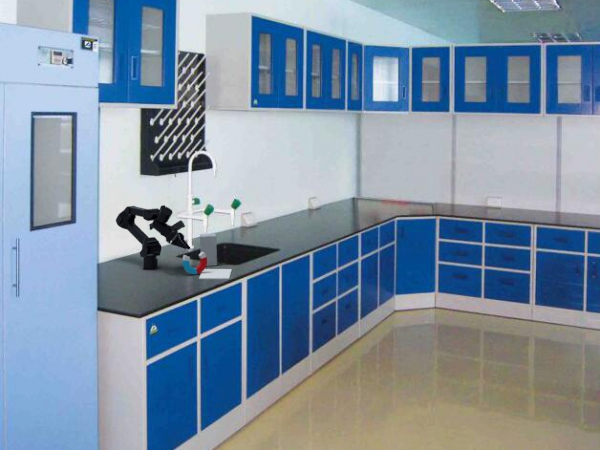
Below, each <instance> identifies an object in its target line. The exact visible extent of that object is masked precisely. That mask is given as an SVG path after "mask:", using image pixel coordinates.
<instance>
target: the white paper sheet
mask: <svg viewBox="0 0 600 450" xmlns="http://www.w3.org/2000/svg"><path fill="white" fill-rule="evenodd" d="M232 270H233V269H232V268H205V269H204V270H203V271H202V272H201V273H200V275H199V277H198V280H230V277H231V274H232Z"/></svg>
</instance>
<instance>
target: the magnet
mask: <svg viewBox="0 0 600 450" xmlns="http://www.w3.org/2000/svg"><path fill="white" fill-rule="evenodd" d="M198 257H199V264H198V265H197V266H196V267H192V266H191V264H190V262H191V260H190V259H191V257H190V256H188V255H186V254H183V256H182V259H181V262H182V266H183V269H184V271H186V272H187V273H189V274H192V275H199V274H201V273H202V271H203V270H204V269H207V266H206V265H207V257H206V254H205V253H204V252H201V251H200V253H199V254H198Z"/></svg>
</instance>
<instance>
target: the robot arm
mask: <svg viewBox="0 0 600 450" xmlns="http://www.w3.org/2000/svg"><path fill="white" fill-rule="evenodd" d="M172 215H173V209H171V208H170V207H168V206H166V205H165V204H164V205H161V206H160V208H144V207H139V206H136V205H131V206H130V205H129V206H128V205H127V206H126V207H125V208H124V209H123V210H122V211H121V212H119V214H117V217H116V218H115V223H116V225H117V226H118V227H120V229H123V230H127V231H128V232H129V233H130V234H131V236H133V237H134V238H135V239H136V240H137V241H138V242H139V243H140V244H141V250H140V252H139V256H140V257H141V258H143V260H142V261H143V268H142V270H157V269H158V267H159V258H158V256H161V252H162V245H161V244H162V243H160V240H158V239H157V237H155V236H152V237H149V236H148V235H147V234H146V233H145V232H144V231H143V230H142V229H141V228H140V227H139V226H138V225H137V224H136V218H137V217H141V218H142V219H144V220H145V221H147V222H150V224H149V225H148V226H149V230H150V231H152V230H153V229H154V230H155V231H156V232H158V233H159V234H160V235H161V236H163V237H164V238H165V242H167V244H170V245H172V246H174V247H178V248H182V249H185V250H191V246H190V245H189V244H188V243H187V241H186V240H185V235H184V233H182V232H179V231H180V230H181V229H184V228H185V227H186V224H185V222H183V220H182V219H181V220H179V221H177V222H176V223H174V224H172V225H171V224H168V222H169V220H170V219H171V216H172Z"/></svg>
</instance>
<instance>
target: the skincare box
mask: <svg viewBox="0 0 600 450" xmlns="http://www.w3.org/2000/svg"><path fill="white" fill-rule="evenodd" d="M199 247H200V253H201V252H204V253H205V254H206V257H207V265H206V267H211V266H218V250H217V249H218V248H217V235H216V233H201V234H199Z"/></svg>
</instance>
